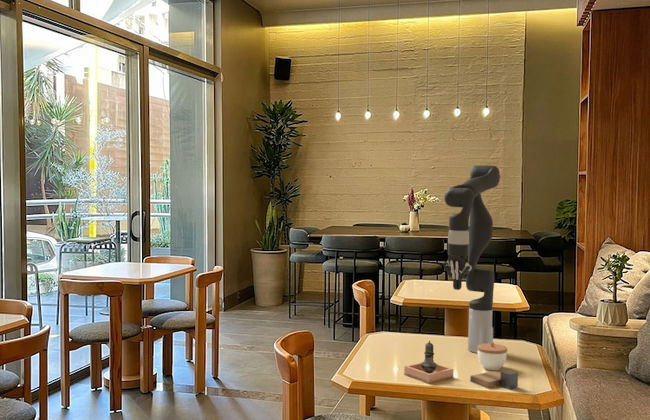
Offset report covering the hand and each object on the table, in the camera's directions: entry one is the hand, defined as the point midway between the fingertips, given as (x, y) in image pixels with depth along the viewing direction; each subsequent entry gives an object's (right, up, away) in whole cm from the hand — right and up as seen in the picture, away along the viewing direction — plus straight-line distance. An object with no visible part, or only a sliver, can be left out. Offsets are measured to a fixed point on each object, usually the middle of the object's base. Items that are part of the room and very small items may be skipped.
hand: (457, 289), depth 234 cm
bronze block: (+9, -30, -15) cm, 35 cm away
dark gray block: (+13, -30, -20) cm, 39 cm away
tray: (-12, -29, -10) cm, 33 cm away
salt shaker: (-12, -29, -10) cm, 33 cm away
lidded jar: (+13, -29, +2) cm, 32 cm away
